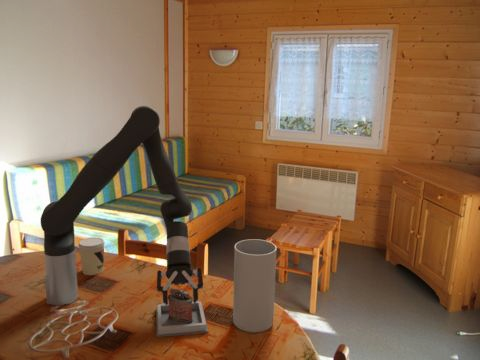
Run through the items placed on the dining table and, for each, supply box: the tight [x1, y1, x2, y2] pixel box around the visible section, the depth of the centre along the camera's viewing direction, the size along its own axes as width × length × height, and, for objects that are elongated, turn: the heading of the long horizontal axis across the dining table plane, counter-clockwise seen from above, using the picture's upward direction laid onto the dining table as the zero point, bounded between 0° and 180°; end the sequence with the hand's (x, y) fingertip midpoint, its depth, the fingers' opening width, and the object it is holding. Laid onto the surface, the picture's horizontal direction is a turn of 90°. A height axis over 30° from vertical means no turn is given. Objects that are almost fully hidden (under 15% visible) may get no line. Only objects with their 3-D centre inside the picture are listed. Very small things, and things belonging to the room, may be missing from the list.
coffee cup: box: [78, 237, 105, 276], centre depth 167 cm, size 9×9×12 cm
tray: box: [155, 300, 209, 338], centre depth 135 cm, size 15×15×2 cm
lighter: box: [168, 287, 193, 324], centre depth 134 cm, size 8×3×10 cm, turn 71°
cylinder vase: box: [232, 238, 277, 333], centre depth 133 cm, size 12×12×25 cm
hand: (180, 303), depth 133 cm, fingers open, 8 cm apart
